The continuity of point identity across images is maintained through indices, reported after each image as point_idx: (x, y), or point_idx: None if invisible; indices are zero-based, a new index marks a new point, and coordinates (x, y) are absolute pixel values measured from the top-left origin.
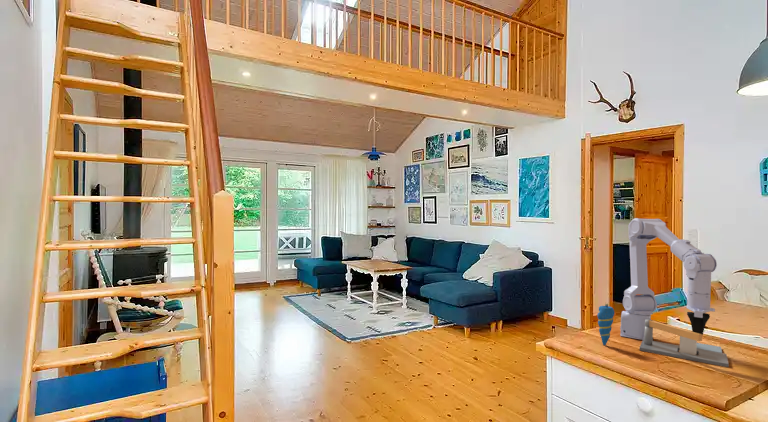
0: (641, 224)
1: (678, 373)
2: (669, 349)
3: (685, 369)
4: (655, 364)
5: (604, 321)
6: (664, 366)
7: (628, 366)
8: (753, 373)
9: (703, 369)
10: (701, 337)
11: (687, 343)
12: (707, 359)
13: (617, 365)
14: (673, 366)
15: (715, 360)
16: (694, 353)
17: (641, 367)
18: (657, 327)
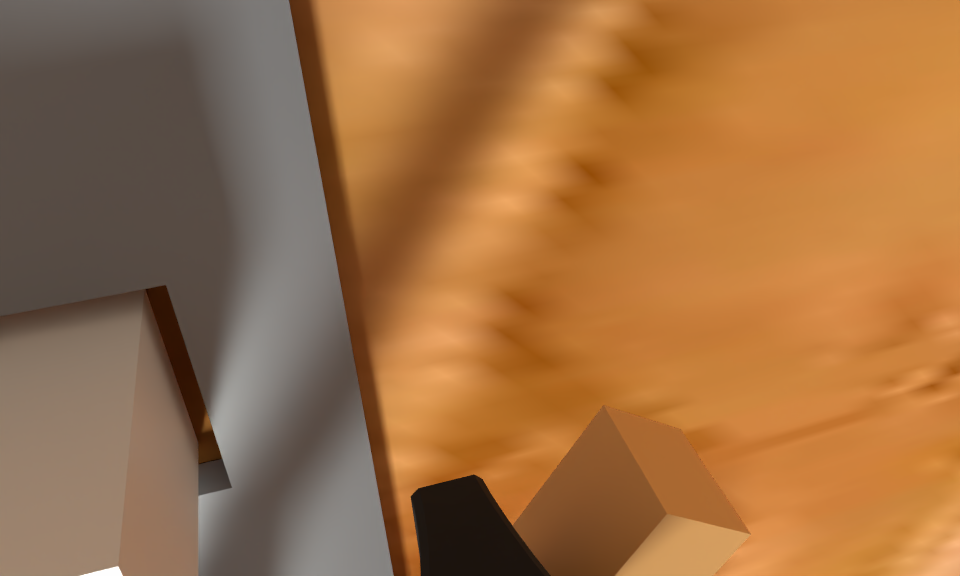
0: None
1: (953, 263)
2: (203, 560)
3: (786, 253)
4: (783, 450)
5: None
6: (800, 393)
7: (946, 524)
8: None
9: (661, 118)
10: (650, 461)
11: (172, 522)
12: (275, 158)
13: (957, 562)
14: (750, 349)
15: (216, 56)
16: (148, 346)
17: (927, 475)
18: None
